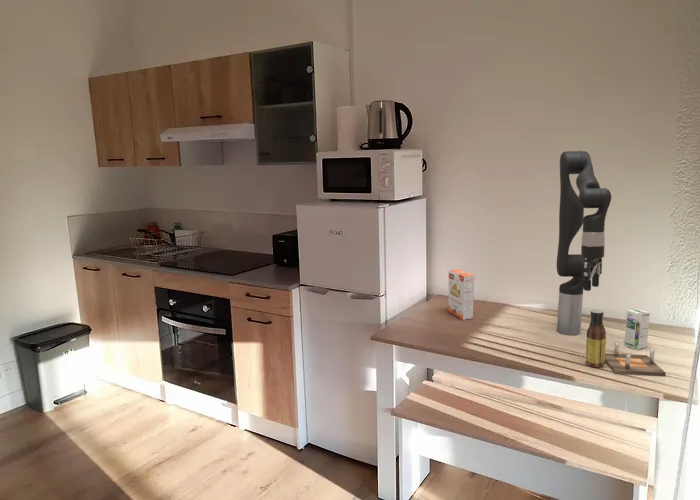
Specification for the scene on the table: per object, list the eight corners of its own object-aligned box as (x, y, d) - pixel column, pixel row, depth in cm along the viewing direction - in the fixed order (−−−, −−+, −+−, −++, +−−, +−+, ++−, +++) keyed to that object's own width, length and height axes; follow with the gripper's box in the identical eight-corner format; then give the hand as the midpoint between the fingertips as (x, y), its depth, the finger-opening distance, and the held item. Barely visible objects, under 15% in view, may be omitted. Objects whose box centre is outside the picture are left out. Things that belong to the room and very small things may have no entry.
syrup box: (623, 345, 202) (626, 309, 200) (634, 343, 204) (637, 307, 202) (635, 350, 197) (639, 313, 195) (647, 348, 199) (650, 311, 197)
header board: (599, 356, 192) (600, 352, 191) (646, 358, 189) (646, 354, 189) (614, 373, 176) (615, 370, 176) (665, 376, 174) (665, 372, 173)
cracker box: (447, 312, 249) (448, 269, 245) (458, 310, 250) (459, 268, 247) (461, 320, 235) (463, 275, 232) (473, 319, 237) (475, 274, 233)
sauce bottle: (599, 361, 187) (603, 308, 184) (608, 367, 181) (612, 313, 177) (581, 361, 187) (584, 308, 183) (589, 368, 181) (593, 313, 177)
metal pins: (613, 355, 189) (614, 342, 188) (646, 356, 187) (647, 343, 187) (625, 369, 177) (627, 355, 176) (661, 370, 175) (662, 356, 174)
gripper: (588, 241, 193) (587, 284, 195) (575, 245, 183) (573, 290, 185) (610, 242, 188) (608, 286, 190) (597, 247, 178) (595, 293, 180)
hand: (591, 288), depth 188 cm, fingers open, 8 cm apart
